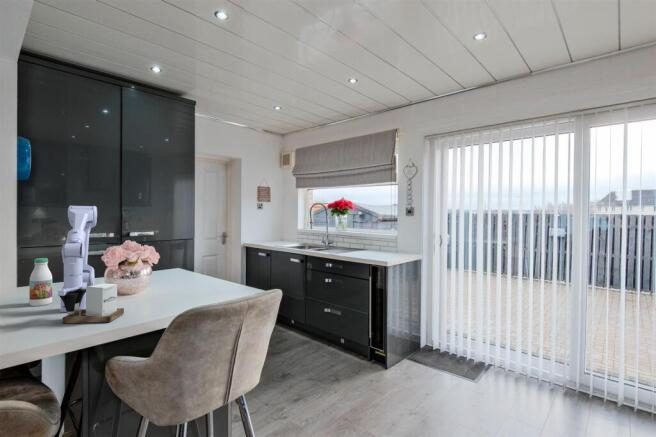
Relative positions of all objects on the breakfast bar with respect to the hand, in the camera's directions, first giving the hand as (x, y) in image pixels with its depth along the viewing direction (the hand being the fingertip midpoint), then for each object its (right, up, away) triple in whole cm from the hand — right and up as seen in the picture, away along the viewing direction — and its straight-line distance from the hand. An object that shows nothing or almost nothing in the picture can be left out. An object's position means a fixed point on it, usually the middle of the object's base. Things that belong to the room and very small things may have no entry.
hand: (73, 310), depth 129 cm
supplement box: (+10, -4, +1) cm, 11 cm away
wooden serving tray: (+8, -4, +1) cm, 8 cm away
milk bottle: (-29, -3, +20) cm, 35 cm away
